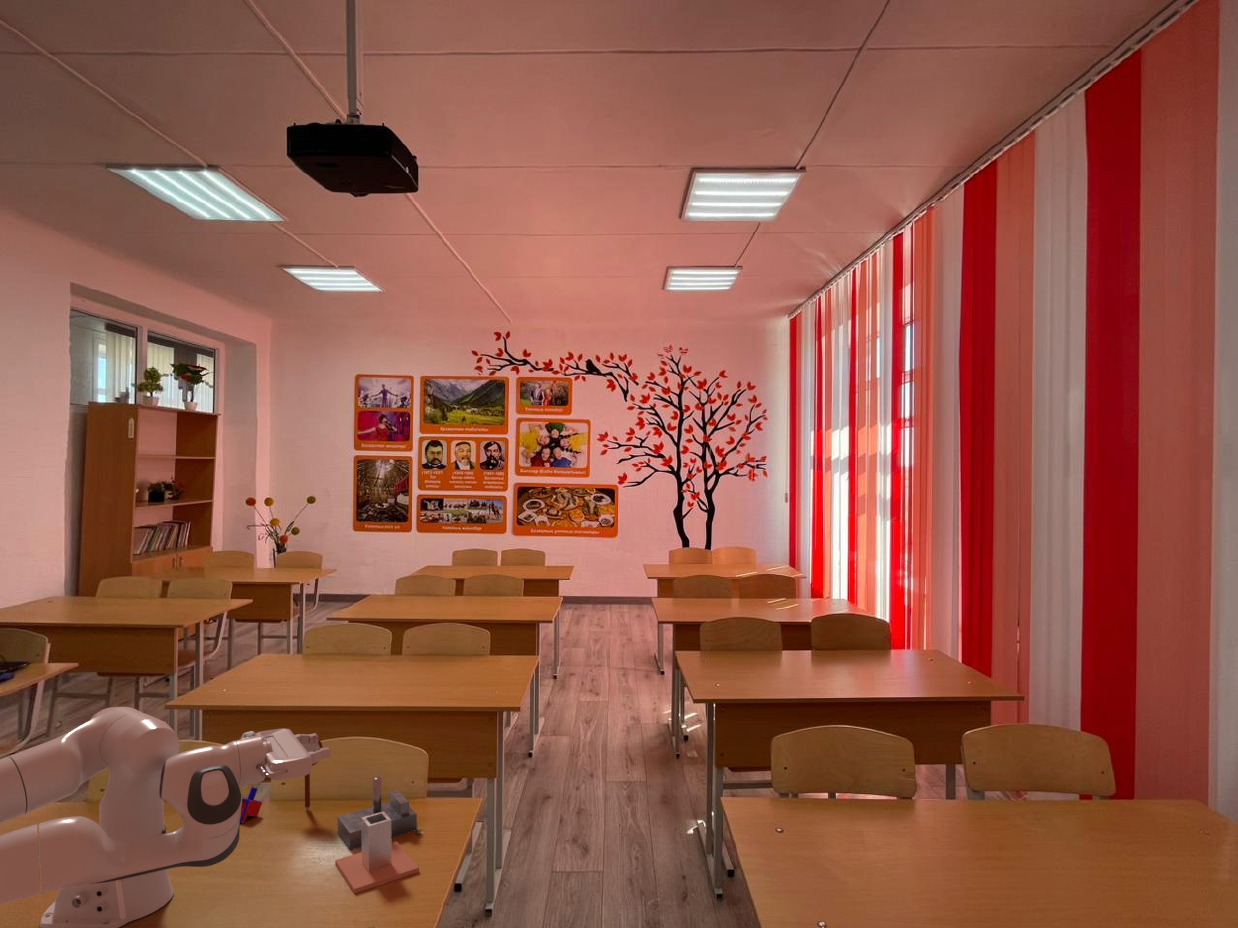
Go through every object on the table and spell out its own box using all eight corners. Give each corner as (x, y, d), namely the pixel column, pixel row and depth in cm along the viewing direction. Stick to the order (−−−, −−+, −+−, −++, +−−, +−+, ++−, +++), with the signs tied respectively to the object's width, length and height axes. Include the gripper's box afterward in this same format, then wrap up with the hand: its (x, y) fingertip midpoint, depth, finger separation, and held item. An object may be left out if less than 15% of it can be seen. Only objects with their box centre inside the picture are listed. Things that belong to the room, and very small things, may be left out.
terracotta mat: (354, 893, 159) (354, 888, 159) (335, 864, 171) (335, 859, 171) (419, 871, 167) (419, 867, 167) (396, 845, 179) (396, 841, 179)
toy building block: (254, 823, 193) (266, 790, 196) (241, 822, 190) (253, 788, 193) (244, 821, 195) (256, 787, 198) (231, 819, 191) (244, 785, 194)
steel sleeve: (369, 872, 166) (368, 826, 165) (361, 862, 170) (361, 817, 170) (391, 864, 169) (391, 819, 168) (384, 855, 173) (383, 811, 172)
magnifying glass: (290, 810, 197) (289, 733, 197) (294, 807, 198) (293, 730, 198) (321, 812, 195) (320, 734, 195) (324, 809, 197) (324, 732, 197)
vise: (350, 850, 177) (349, 794, 177) (337, 832, 185) (337, 779, 185) (416, 829, 186) (416, 776, 186) (402, 814, 194) (401, 763, 194)
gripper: (262, 761, 146) (337, 744, 154) (243, 729, 162) (311, 716, 170) (263, 794, 146) (337, 776, 154) (243, 759, 162) (311, 744, 170)
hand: (323, 744), depth 162 cm, fingers open, 8 cm apart
